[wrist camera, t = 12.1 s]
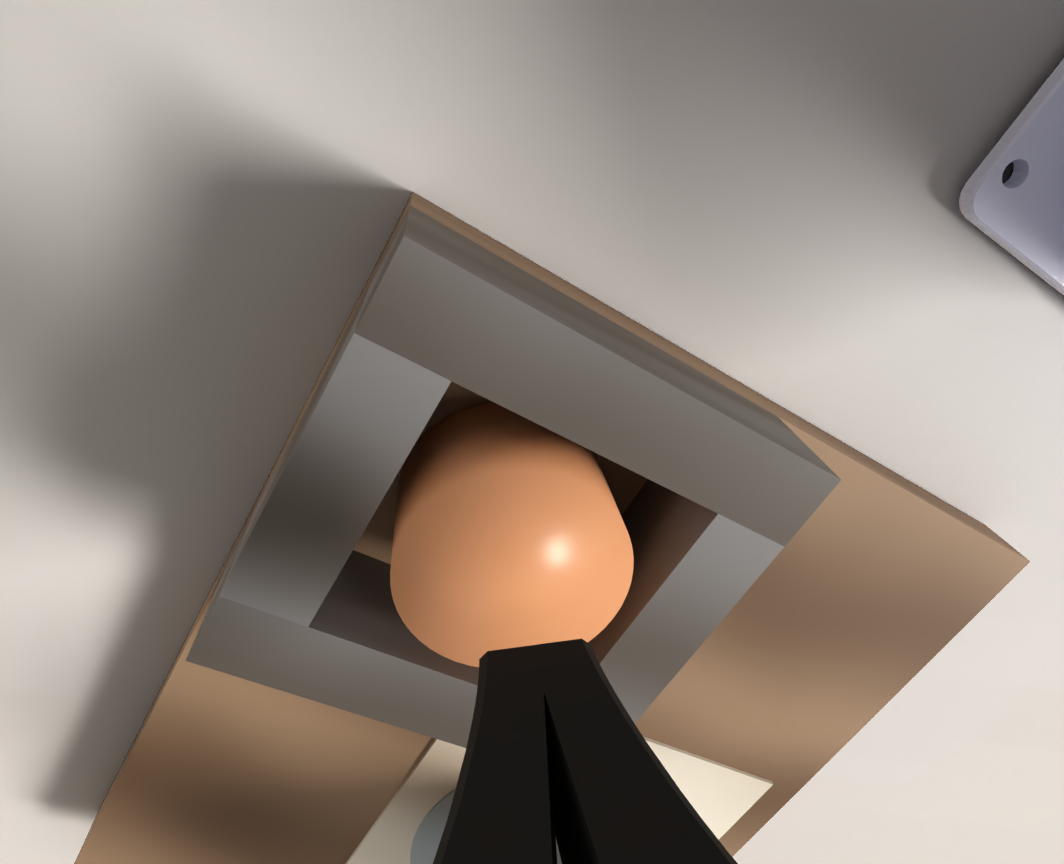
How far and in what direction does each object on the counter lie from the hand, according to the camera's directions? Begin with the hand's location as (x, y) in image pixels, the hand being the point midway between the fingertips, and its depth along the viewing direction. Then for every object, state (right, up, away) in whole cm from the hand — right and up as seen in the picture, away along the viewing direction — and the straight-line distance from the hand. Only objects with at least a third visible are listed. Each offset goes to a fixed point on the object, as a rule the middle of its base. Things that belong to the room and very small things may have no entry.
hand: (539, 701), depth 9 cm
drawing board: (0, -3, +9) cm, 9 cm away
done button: (-1, +2, +5) cm, 5 cm away
